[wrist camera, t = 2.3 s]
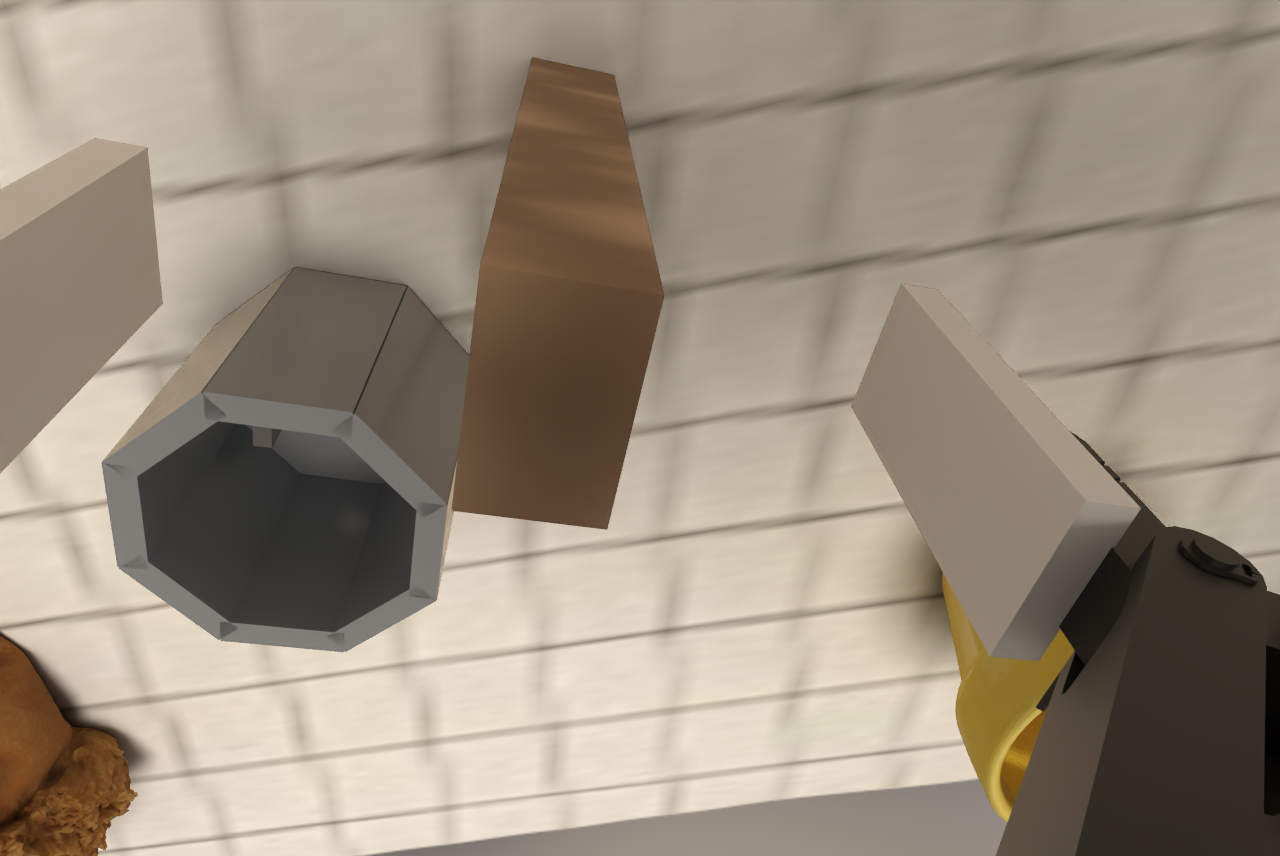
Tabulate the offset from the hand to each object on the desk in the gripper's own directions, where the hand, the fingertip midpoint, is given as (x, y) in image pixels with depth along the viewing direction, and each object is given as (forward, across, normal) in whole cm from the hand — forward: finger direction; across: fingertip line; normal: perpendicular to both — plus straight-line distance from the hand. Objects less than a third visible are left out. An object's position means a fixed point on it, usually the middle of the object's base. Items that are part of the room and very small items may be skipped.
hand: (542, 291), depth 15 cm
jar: (+12, +6, +10) cm, 17 cm away
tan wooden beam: (+12, 0, 0) cm, 12 cm away
